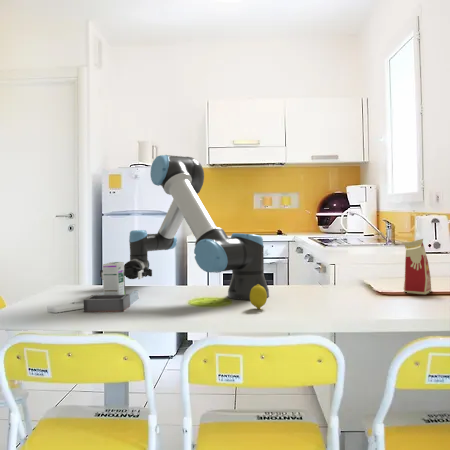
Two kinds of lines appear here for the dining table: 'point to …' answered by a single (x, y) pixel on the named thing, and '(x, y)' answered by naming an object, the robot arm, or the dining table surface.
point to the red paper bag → (416, 268)
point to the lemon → (258, 296)
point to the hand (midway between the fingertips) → (120, 276)
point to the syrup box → (113, 278)
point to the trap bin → (106, 303)
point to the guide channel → (132, 296)
